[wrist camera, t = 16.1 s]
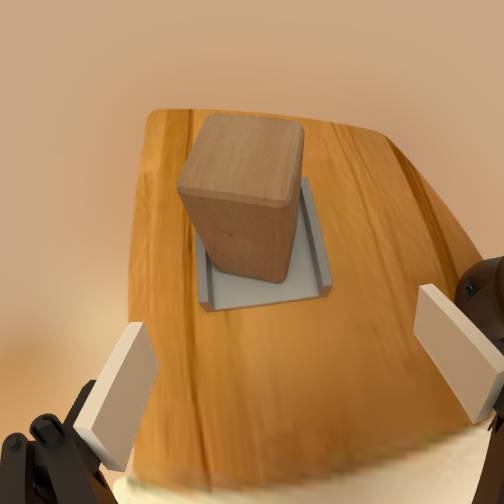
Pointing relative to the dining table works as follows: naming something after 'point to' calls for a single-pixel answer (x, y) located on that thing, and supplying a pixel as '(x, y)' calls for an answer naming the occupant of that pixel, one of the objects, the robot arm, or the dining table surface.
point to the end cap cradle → (267, 292)
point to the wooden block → (245, 192)
